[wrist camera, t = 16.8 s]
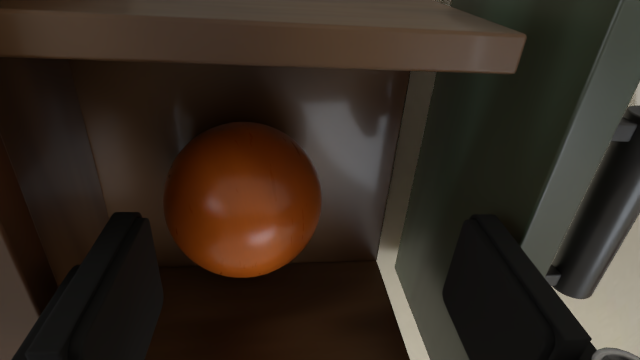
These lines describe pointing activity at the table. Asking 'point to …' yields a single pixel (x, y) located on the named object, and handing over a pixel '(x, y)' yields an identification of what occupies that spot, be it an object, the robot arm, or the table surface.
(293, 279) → the drawer
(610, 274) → the table surface
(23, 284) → the cabinet
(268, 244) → the ball
